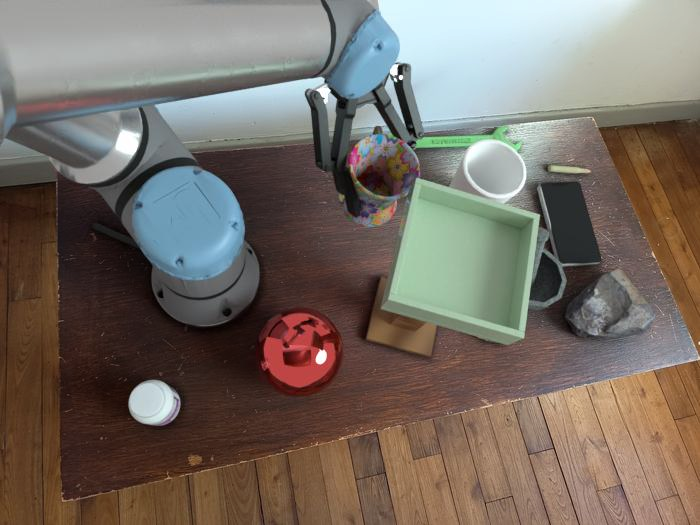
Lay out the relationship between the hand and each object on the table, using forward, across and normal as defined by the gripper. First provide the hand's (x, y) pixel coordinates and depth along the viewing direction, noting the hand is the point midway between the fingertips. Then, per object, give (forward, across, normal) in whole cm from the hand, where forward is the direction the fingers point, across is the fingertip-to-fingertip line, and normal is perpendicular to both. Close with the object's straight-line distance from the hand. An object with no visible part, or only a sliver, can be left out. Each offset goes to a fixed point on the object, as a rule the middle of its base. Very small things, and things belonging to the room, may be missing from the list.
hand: (380, 203), depth 73 cm
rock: (+31, -30, +11) cm, 45 cm away
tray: (+2, 0, +18) cm, 18 cm away
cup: (+10, -19, -8) cm, 23 cm away
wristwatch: (+25, -12, +6) cm, 28 cm away
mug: (0, 0, -5) cm, 5 cm away
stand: (+19, 0, 0) cm, 19 cm away
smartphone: (+17, -34, -1) cm, 38 cm away
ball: (+19, +17, 0) cm, 26 cm away
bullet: (+9, -37, -8) cm, 39 cm away
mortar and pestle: (+21, -20, +2) cm, 29 cm away
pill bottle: (+18, +37, -2) cm, 41 cm away
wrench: (-1, -24, -18) cm, 30 cm away
